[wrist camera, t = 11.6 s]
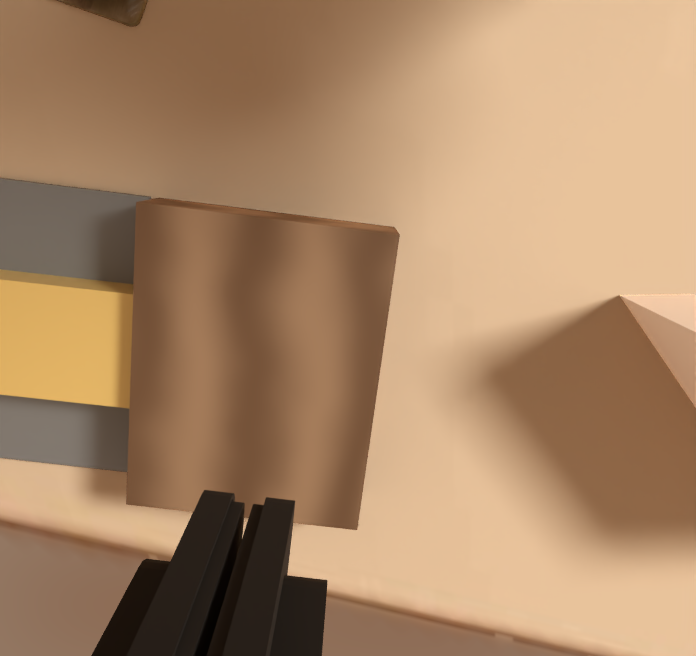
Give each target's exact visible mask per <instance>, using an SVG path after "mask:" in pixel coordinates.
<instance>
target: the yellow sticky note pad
mask: <svg viewBox="0 0 696 656" xmlns="http://www.w3.org/2000/svg"><path fill="white" fill-rule="evenodd" d="M132 314H133V284H126V283H117V282H108V281H99V280H90V279H81V278H73V277H64V276H55V275H46V274H37V273H28V272H19V271H11V270H2V269H0V395H9V396H18V397H28V398H37V399H46V400H55V401H65V402H74V403H83V404H92V405H102V406H111V407H120V408H129V407H130V376H131V345H132Z"/></svg>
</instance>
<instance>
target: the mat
mask: <svg viewBox="0 0 696 656" xmlns="http://www.w3.org/2000/svg"><path fill="white" fill-rule="evenodd" d="M150 199H151V197H148V196H140V195H132V194H124V193H116V192H108V191H100V190H92V189H84V188H76V187H68V186H60V185H52V184H44V183H36V182H28V181H20V180H12V179H4V178H0V269H2V270H11V271H19V272H28V273H37V274H46V275H55V276H64V277H73V278H81V279H90V280H99V281H108V282H117V283H126V284H133V283H134V252H135V221H136V202H139V201H144V200H150ZM128 438H129V408H120V407H111V406H102V405H92V404H83V403H74V402H65V401H55V400H46V399H37V398H28V397H18V396H9V395H0V458H7V459H16V460H25V461H33V462H42V463H51V464H60V465H69V466H78V467H87V468H96V469H104V470H113V471H122V472H127V469H128Z"/></svg>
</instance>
